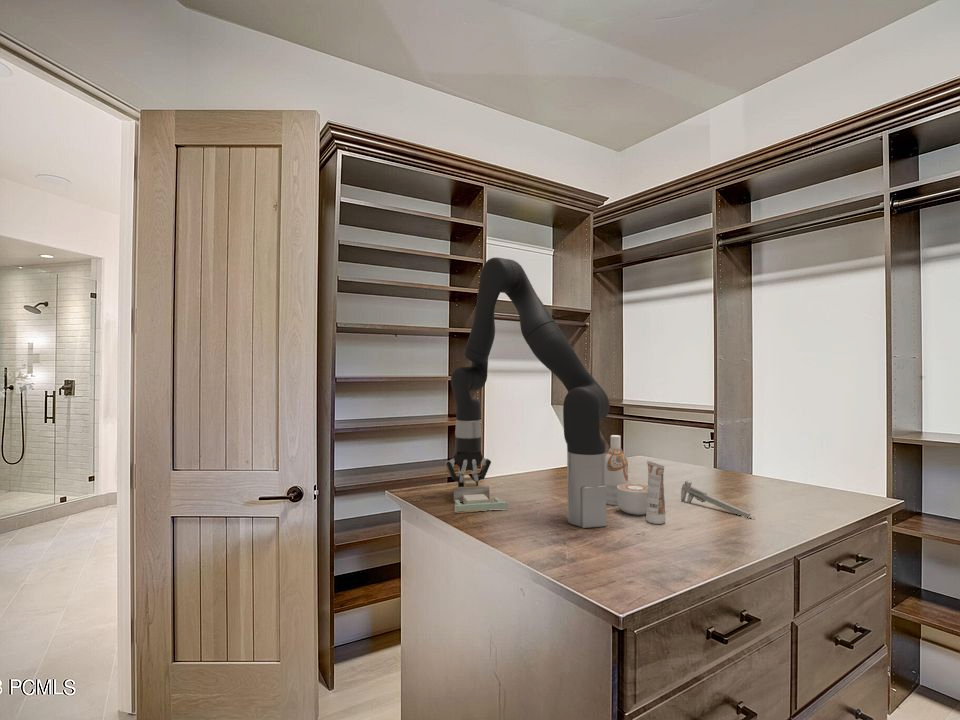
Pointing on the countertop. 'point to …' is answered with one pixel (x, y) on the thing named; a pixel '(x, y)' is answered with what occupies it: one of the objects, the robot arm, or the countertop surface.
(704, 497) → the caliper
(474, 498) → the tile
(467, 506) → the tile stop
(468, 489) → the grey rectangular block
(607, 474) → the cosmetic set
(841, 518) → the countertop surface
